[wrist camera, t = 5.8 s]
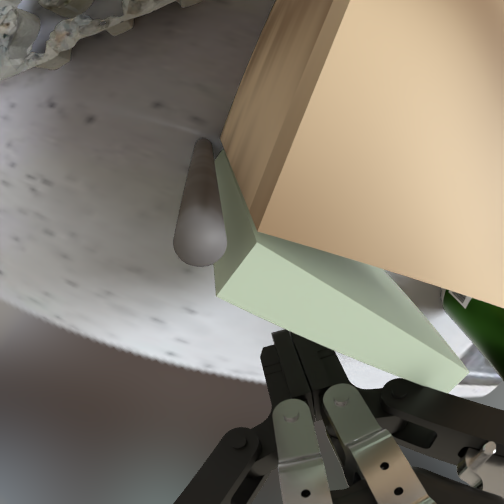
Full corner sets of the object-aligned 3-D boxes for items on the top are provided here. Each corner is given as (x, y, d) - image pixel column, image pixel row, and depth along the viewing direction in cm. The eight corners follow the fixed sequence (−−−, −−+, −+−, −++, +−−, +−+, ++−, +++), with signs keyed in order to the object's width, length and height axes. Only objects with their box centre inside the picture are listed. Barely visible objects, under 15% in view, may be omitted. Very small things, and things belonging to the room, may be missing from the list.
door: (222, 149, 14) (257, 241, 5) (364, 249, 17) (469, 372, 9) (196, 187, 14) (187, 333, 6) (340, 277, 18) (427, 411, 9)
